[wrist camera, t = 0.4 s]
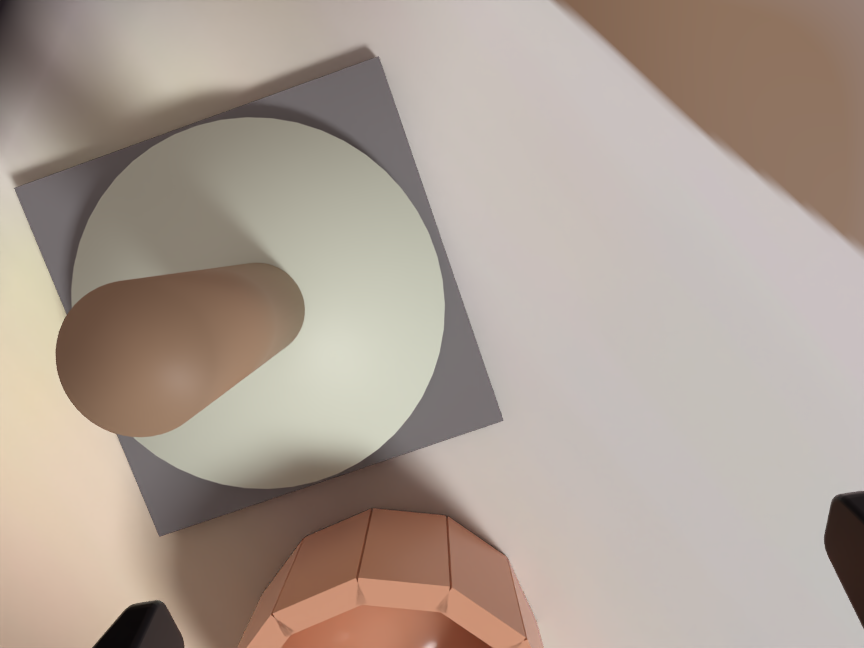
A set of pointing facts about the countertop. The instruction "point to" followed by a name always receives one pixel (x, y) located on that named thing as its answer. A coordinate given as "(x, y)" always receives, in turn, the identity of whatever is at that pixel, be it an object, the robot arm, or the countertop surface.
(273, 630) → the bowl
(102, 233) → the lid
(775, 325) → the countertop surface
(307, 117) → the mat
